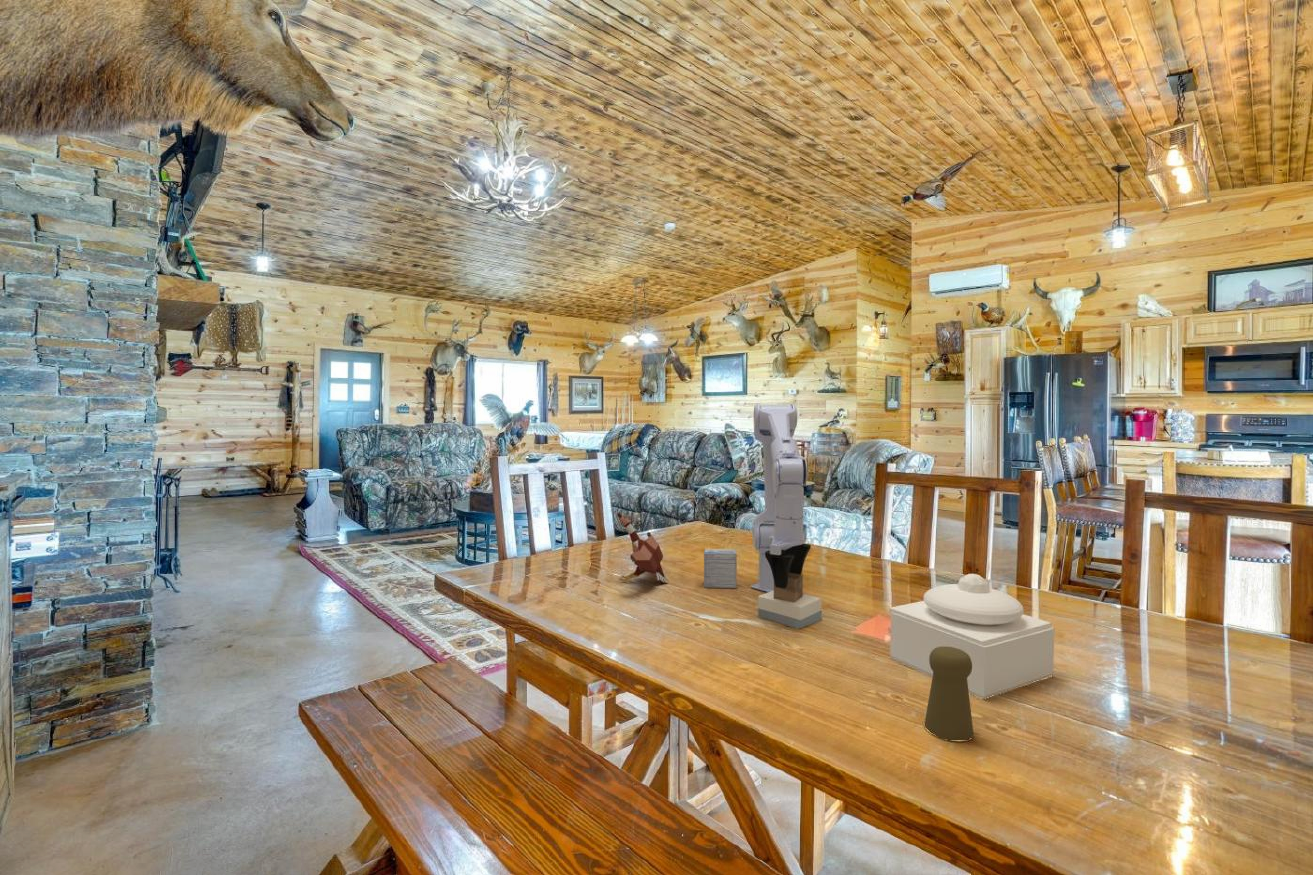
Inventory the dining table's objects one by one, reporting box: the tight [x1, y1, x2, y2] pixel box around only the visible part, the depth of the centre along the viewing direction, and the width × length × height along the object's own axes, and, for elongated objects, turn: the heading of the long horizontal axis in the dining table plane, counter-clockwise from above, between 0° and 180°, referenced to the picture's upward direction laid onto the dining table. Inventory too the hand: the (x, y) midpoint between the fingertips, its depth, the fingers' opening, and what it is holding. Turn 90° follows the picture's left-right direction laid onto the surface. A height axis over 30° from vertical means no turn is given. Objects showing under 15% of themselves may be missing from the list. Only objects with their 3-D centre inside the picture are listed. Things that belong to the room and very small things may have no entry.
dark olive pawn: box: [924, 646, 975, 740], centre depth 83 cm, size 6×6×11 cm
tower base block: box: [757, 607, 823, 630], centre depth 128 cm, size 8×10×2 cm
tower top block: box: [757, 590, 823, 620], centre depth 127 cm, size 8×10×2 cm
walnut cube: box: [774, 573, 804, 602], centre depth 127 cm, size 4×4×4 cm
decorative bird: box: [616, 511, 669, 585], centre depth 153 cm, size 28×18×15 cm, turn 172°
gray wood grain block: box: [703, 548, 738, 589], centre depth 150 cm, size 8×4×9 cm, turn 84°
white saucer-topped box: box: [888, 573, 1056, 700], centre depth 103 cm, size 18×18×16 cm
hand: (787, 582), depth 127 cm, fingers open, 7 cm apart
